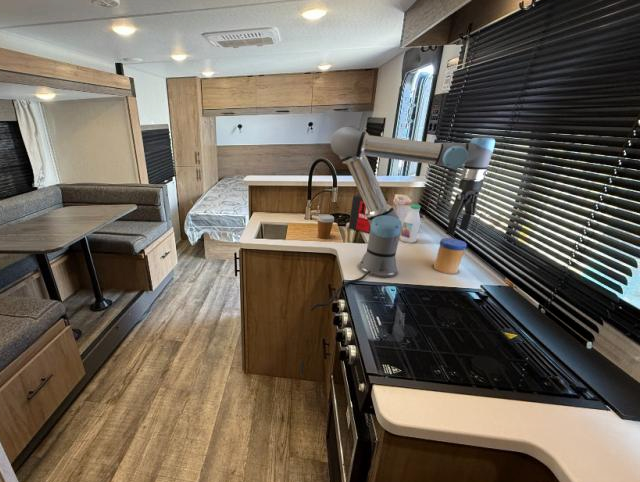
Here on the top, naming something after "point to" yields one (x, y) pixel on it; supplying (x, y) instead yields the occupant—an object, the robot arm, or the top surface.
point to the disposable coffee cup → (325, 225)
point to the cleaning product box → (359, 215)
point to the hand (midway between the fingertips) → (456, 231)
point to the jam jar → (448, 260)
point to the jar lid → (453, 244)
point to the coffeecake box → (401, 206)
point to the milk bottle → (411, 225)
